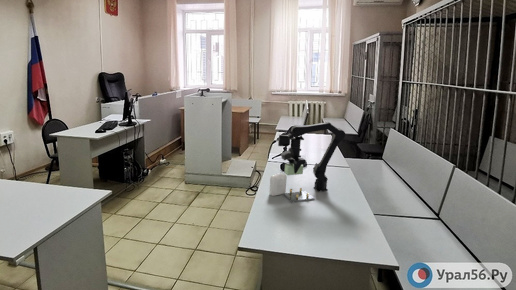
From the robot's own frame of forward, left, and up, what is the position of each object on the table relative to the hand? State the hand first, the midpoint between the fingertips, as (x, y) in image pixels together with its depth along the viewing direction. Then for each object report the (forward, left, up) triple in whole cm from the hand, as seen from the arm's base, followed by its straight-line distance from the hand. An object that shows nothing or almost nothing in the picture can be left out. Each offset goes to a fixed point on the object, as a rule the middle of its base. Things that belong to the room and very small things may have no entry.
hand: (293, 171), depth 199 cm
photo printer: (+13, +6, -11) cm, 18 cm away
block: (0, 0, -1) cm, 1 cm away
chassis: (+3, +14, -10) cm, 18 cm away
